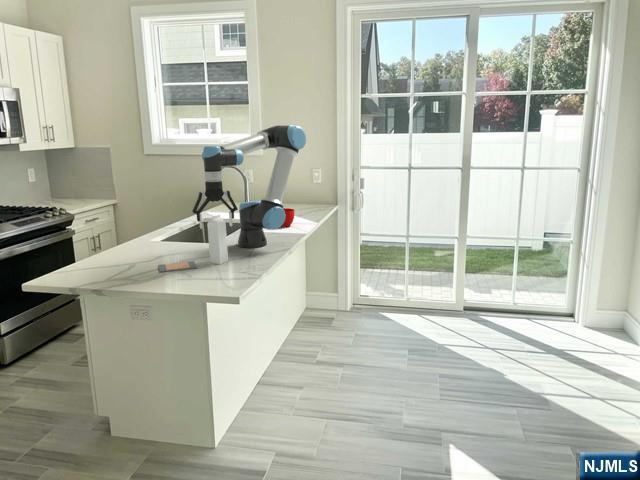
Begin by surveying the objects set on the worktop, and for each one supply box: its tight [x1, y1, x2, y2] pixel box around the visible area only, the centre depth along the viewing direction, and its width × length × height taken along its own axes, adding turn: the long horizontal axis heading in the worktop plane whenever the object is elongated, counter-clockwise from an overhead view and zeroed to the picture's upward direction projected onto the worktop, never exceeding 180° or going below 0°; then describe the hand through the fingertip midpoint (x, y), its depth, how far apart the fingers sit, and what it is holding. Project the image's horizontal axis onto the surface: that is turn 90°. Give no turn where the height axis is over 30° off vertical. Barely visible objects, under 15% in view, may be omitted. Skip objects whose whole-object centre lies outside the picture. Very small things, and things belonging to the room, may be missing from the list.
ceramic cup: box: [280, 207, 295, 228], centre depth 312 cm, size 13×17×10 cm
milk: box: [206, 214, 229, 265], centre depth 233 cm, size 6×6×22 cm
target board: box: [157, 260, 198, 274], centre depth 228 cm, size 16×11×1 cm
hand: (216, 227), depth 231 cm, fingers open, 13 cm apart
